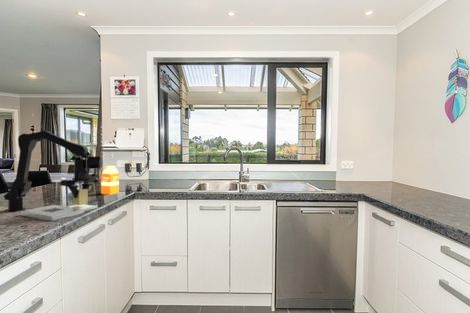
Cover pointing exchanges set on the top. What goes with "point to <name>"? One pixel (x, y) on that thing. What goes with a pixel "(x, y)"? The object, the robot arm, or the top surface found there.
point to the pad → (83, 207)
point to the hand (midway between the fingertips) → (80, 197)
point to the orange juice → (110, 180)
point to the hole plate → (52, 212)
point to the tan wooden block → (81, 197)
